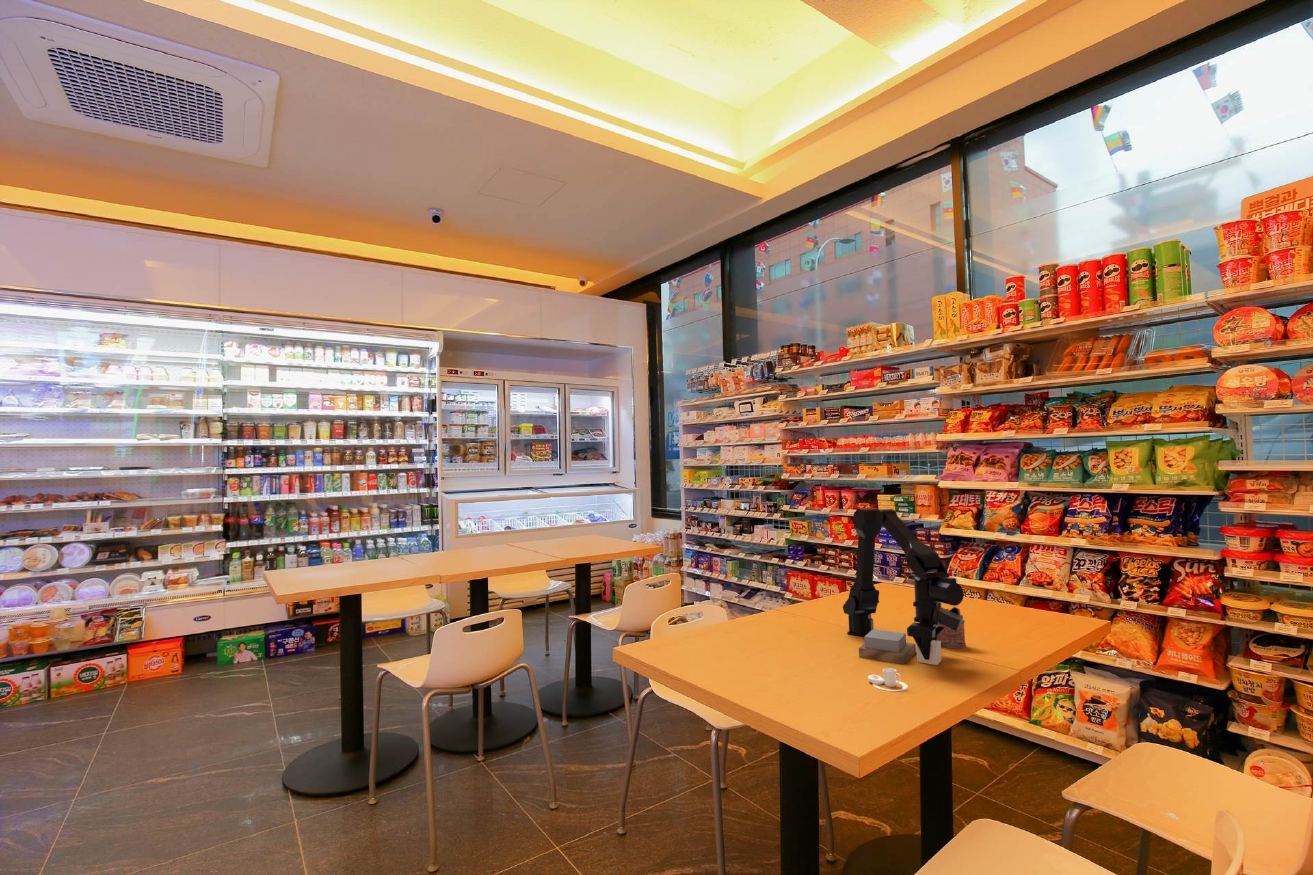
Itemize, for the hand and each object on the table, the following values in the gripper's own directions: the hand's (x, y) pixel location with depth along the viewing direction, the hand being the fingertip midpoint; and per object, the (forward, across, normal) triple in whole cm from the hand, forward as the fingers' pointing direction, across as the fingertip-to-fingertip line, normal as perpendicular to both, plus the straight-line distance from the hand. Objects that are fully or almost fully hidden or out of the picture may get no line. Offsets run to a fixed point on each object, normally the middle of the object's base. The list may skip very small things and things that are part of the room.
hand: (929, 656), depth 164 cm
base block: (+2, 0, +11) cm, 11 cm away
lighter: (+1, +17, -2) cm, 17 cm away
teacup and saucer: (+2, -21, +5) cm, 21 cm away
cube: (+1, 0, 0) cm, 1 cm away
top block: (-1, 0, +11) cm, 11 cm away
